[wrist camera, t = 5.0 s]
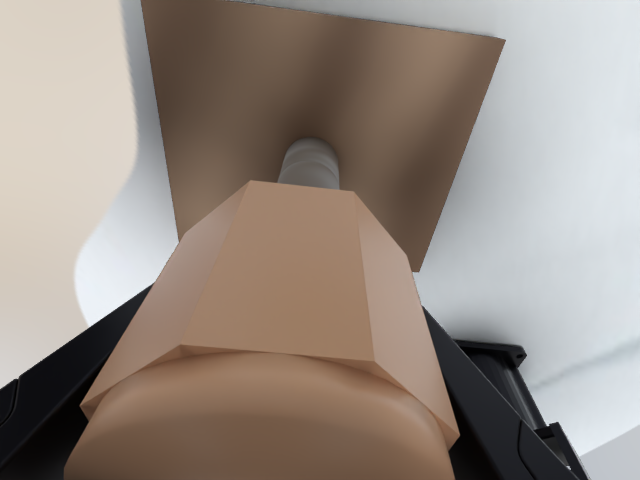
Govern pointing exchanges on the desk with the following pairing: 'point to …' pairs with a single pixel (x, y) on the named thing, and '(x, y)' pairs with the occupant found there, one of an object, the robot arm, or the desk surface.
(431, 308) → the desk surface
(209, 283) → the cap
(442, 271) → the desk surface
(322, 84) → the post board
